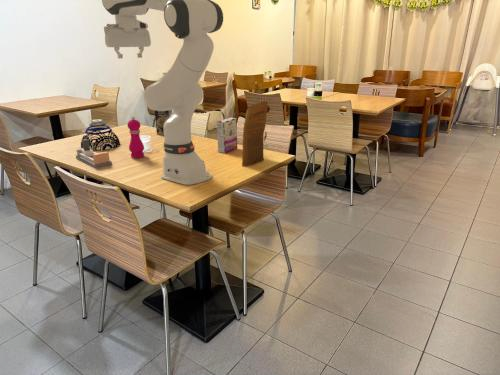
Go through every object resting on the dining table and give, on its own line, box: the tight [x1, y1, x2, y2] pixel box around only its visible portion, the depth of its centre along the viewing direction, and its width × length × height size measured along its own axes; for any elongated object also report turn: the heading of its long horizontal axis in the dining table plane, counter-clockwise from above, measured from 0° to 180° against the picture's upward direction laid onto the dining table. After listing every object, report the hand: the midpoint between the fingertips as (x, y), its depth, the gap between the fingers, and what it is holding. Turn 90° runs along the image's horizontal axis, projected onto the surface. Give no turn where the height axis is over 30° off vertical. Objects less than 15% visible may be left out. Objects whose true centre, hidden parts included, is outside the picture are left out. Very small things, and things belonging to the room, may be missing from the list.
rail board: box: [75, 147, 113, 169], centre depth 182 cm, size 22×8×6 cm, turn 45°
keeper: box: [80, 138, 94, 157], centre depth 185 cm, size 5×4×8 cm
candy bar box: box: [216, 117, 238, 154], centre depth 197 cm, size 11×5×16 cm, turn 146°
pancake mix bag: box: [241, 100, 269, 167], centre depth 175 cm, size 7×19×28 cm, turn 143°
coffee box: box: [154, 110, 173, 136], centre depth 233 cm, size 9×6×16 cm
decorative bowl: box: [80, 118, 121, 152], centre depth 207 cm, size 20×20×14 cm
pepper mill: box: [127, 116, 145, 159], centre depth 187 cm, size 7×7×20 cm
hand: (130, 58), depth 169 cm, fingers open, 8 cm apart
